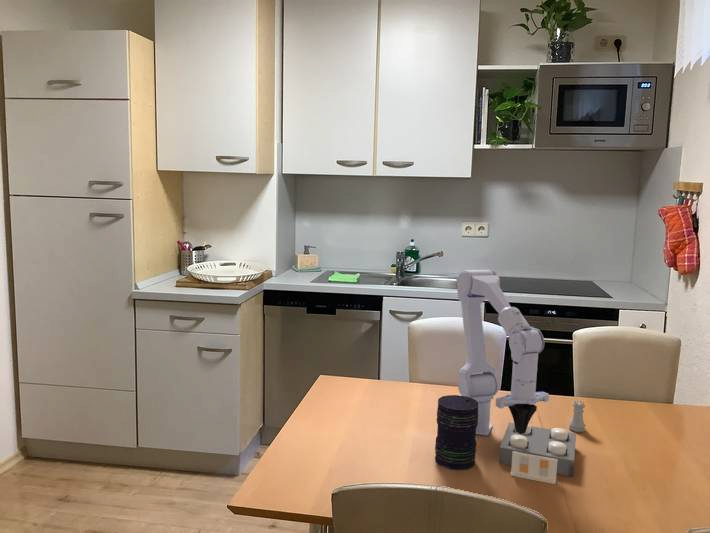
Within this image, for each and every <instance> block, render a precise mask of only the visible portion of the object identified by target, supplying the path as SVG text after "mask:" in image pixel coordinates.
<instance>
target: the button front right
mask: <svg viewBox="0 0 710 533" xmlns="http://www.w3.org/2000/svg"><path fill="white" fill-rule="evenodd" d="M547 453H551V454H556V455H562V456H567V453H566V445H565V444H564V443H562V442H557V441H552V442H549V447H548V449H547Z"/></svg>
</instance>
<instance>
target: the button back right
mask: <svg viewBox="0 0 710 533" xmlns="http://www.w3.org/2000/svg"><path fill="white" fill-rule="evenodd" d="M568 432H569V431H568V430H567V429H565V428H561V427H553V428H551V439H555V440H561V441H567V438H568Z"/></svg>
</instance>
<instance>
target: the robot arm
mask: <svg viewBox="0 0 710 533" xmlns="http://www.w3.org/2000/svg"><path fill="white" fill-rule="evenodd" d="M500 283H501V278H500V276H498V273H497V271H495V269H492V268H491V269H490V268H489V269H474V270H473V269H472V270H471V269H470V270H469V269H468V270H467V269H463V270H461V271H460V272H459V274H458V276H457V278H456V290H457V298H458V302H459V301H460V304H461V305H460V306H461V313H462V323H463V324H462V325H463V333H464V342H465V344H464V345H465V353H466V354H465V355H466V356H465V357H466V363H465V365H463V366H462V367H461V368H460V370H459V371H458V382H457V388H458V392H459V394H458V395H459V396H466V397H469V398H472V399H474V400H476V401H477V402H478V425H477V428H476V435H479V436H489V434H490V432H491V430H492V427H493V424H492V423H490V421H491V420H490V418H491V407H492V405H491V403H492V400H493V399H494V397H495V396H496V395H497V393H498V391H499V387H500V386H499V385H500V384H499V383H500V382H499V379H498V378H497V375H496V370H495V367H494V366H492V365H491V364H490V363H489V362H487V354H486V347H485V346H486V345H485V344H486V343H485V334H484V327H483V325H484V324H483V318H482V317H483V316H482V308H481V305H482V303H483V302H484V301H485V300H486V301H488V302H489V304H490V305H491V306H492V307H493V309H494V310H495V311H496V312H497V313H498V317H497V321H498V323H499V325H500V326H501V328H502V329H503V330H504V332H505V333H506V335H507V337H508V338H509V339H508V344H509V350H510V353H511V354H510V357H511V360H512V373H511V387H510V393H508V394H506V395H503V396H501V397H496V398H495V407H497V408H498V409H501V410H502V409H504V408H505V407H508V409H509V412H510V414H511V417H512V418H513V420H512V421H513V423H514V424H515V430H516V432H518V433H520V434H524V433H525V432H526V429H527V426H528V424H530V422H531V419H532V418H533V415H534V414H535V413H536V412H537V409H538V407H537V403H538V402H539V403H540V402H545V403H547V402H549V401H550V400H549V397H550V394H549V393H548V392H545V391H536V389H537V374H538V361H539V354H540V353H541V352H542V351H543V350H544V348H545V338H544V335H543V333H542V331H541V330H540V329H538V328H535V327H534V326H531V325H530V324H529V323H528V321H527V320H526V318H525V317H524V316H523V314H522V312H521V311H520V309H519V308H517V307H515V306H511V305H510V302H509V300H508V299H507V297H506V295H505V294H504V292H503V290H502V288H501V287H500V285H501V284H500Z"/></svg>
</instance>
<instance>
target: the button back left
mask: <svg viewBox="0 0 710 533" xmlns="http://www.w3.org/2000/svg"><path fill="white" fill-rule="evenodd" d="M531 426H532V425H531V424H530V423H528V426H527V429H526V432H525V433H524V434H526V435H531ZM515 433H518V432H516V430H515Z"/></svg>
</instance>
